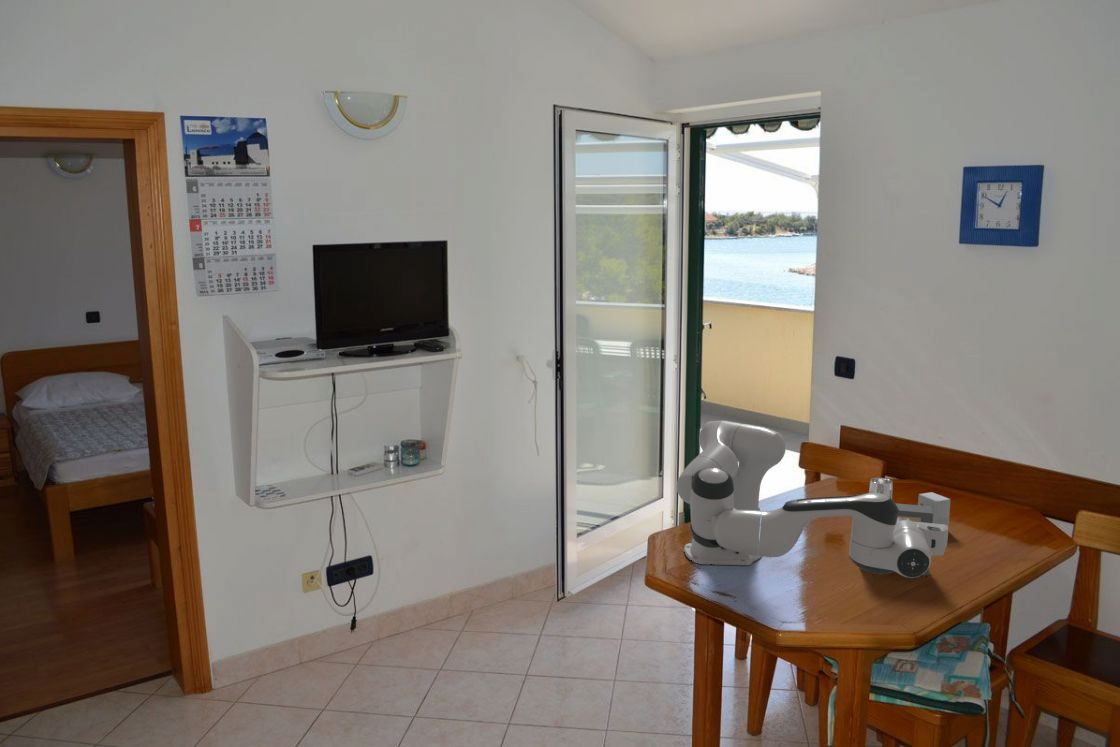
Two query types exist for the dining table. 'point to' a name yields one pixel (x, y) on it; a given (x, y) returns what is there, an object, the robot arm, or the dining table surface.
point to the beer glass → (881, 486)
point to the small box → (936, 507)
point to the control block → (916, 515)
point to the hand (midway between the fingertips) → (902, 520)
